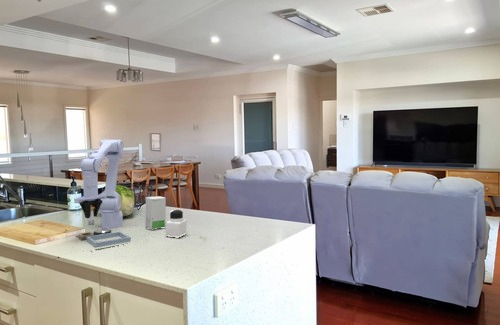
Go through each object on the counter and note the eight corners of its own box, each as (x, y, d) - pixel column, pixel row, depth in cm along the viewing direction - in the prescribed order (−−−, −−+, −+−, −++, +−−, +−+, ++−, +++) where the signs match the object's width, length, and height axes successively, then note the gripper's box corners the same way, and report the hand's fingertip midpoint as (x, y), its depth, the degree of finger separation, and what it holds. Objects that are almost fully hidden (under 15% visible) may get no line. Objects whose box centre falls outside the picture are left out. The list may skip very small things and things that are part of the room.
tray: (120, 238, 174) (120, 231, 174) (130, 244, 165) (130, 237, 165) (86, 243, 165) (86, 236, 165) (95, 250, 156) (95, 243, 156)
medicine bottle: (186, 235, 181) (186, 209, 180) (179, 238, 175) (179, 212, 174) (173, 233, 184) (173, 208, 183) (165, 237, 177) (165, 211, 176)
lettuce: (111, 207, 201) (138, 185, 211) (87, 194, 214) (113, 174, 224) (125, 230, 212) (150, 208, 222) (102, 217, 225) (126, 196, 235)
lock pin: (93, 223, 171) (92, 205, 171) (96, 224, 169) (96, 206, 168) (85, 224, 169) (85, 206, 168) (89, 225, 166) (88, 207, 166)
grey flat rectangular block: (106, 233, 182) (106, 226, 181) (114, 238, 174) (114, 231, 174) (74, 238, 172) (74, 231, 172) (81, 243, 165) (81, 236, 165)
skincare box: (150, 230, 188) (150, 199, 187) (144, 228, 193) (144, 197, 191) (166, 228, 193) (166, 197, 192) (159, 225, 198) (159, 195, 197)
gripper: (99, 183, 176) (99, 213, 177) (69, 187, 163) (70, 218, 165) (109, 185, 172) (109, 215, 173) (80, 188, 160) (80, 221, 161)
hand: (91, 217), depth 169 cm, fingers closed on lock pin, 3 cm apart
